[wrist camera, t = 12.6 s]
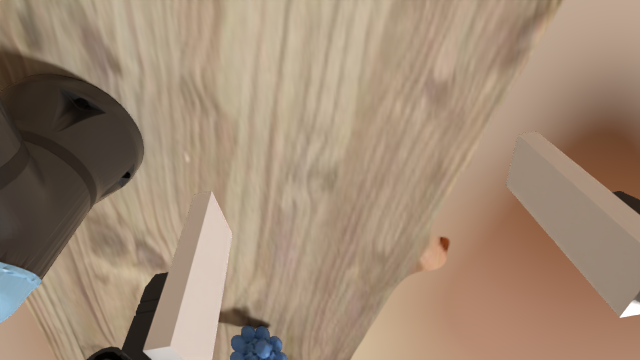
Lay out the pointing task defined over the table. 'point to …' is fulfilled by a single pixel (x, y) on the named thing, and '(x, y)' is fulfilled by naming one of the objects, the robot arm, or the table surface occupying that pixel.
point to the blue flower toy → (256, 345)
